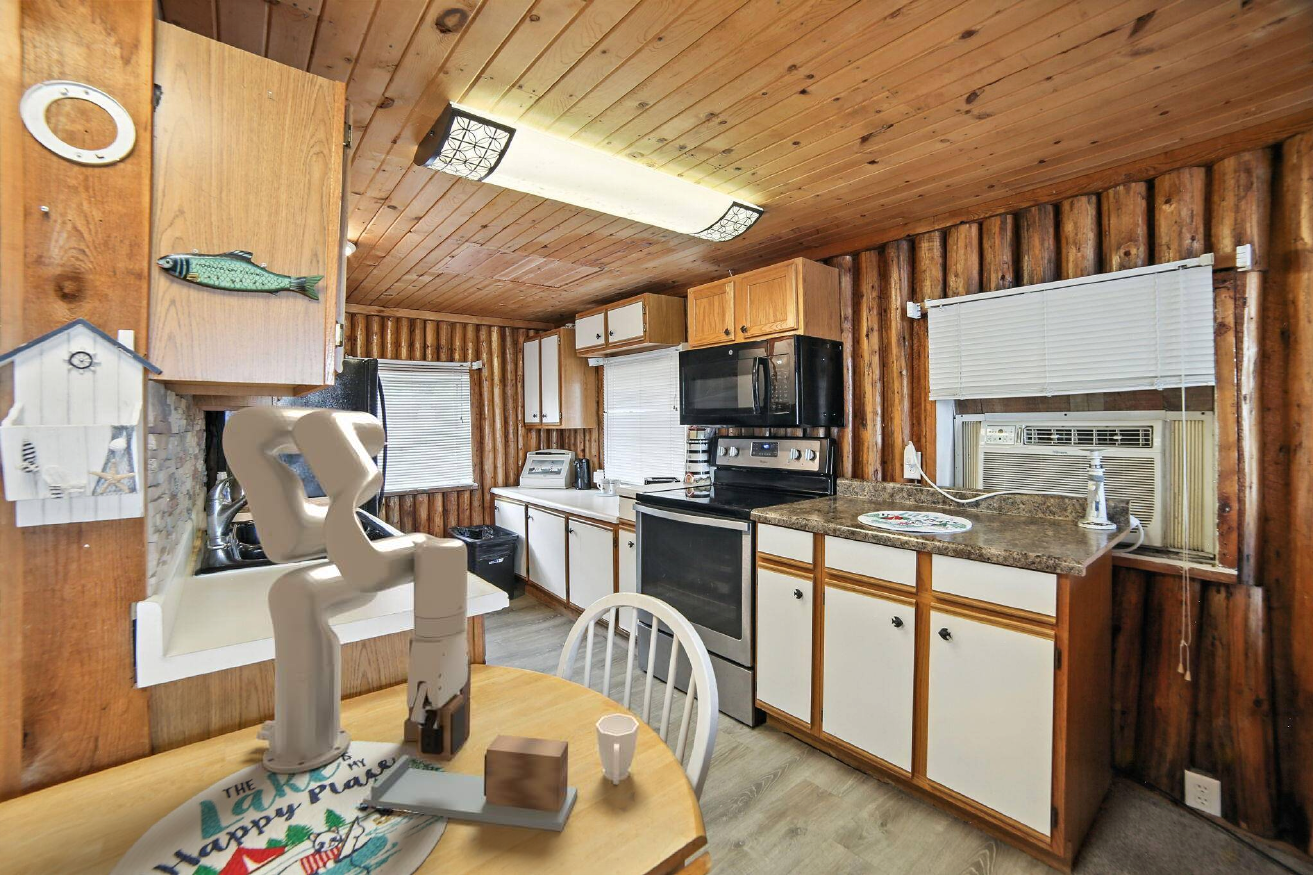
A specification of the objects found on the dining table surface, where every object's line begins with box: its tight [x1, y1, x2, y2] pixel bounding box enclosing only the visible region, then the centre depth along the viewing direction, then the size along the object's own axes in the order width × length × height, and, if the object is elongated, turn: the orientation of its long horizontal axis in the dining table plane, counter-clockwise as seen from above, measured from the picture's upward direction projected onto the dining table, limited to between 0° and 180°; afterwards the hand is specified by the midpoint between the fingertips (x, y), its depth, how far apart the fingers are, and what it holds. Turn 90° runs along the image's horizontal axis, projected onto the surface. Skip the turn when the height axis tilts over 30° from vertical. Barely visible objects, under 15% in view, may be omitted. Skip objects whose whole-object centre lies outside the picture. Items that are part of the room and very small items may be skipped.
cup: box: [595, 713, 640, 785], centre depth 91 cm, size 7×10×8 cm
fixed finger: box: [483, 734, 569, 812], centre depth 84 cm, size 11×4×8 cm, turn 82°
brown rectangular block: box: [417, 694, 466, 763], centre depth 85 cm, size 5×4×8 cm
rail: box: [362, 754, 578, 832], centre depth 85 cm, size 30×8×3 cm, turn 82°
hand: (440, 742), depth 85 cm, fingers closed on brown rectangular block, 4 cm apart
